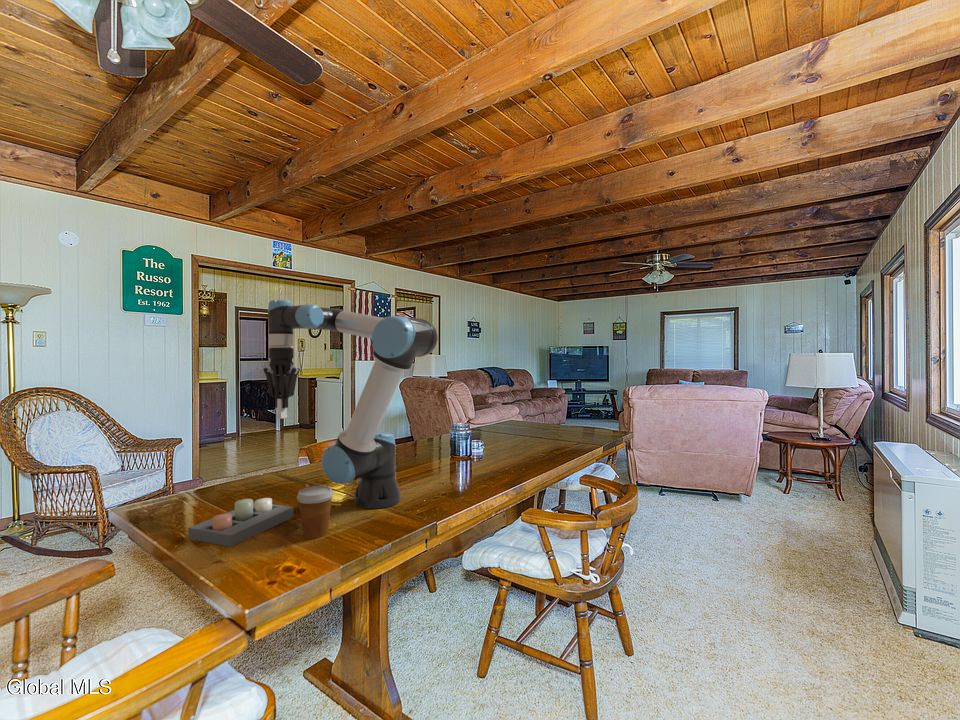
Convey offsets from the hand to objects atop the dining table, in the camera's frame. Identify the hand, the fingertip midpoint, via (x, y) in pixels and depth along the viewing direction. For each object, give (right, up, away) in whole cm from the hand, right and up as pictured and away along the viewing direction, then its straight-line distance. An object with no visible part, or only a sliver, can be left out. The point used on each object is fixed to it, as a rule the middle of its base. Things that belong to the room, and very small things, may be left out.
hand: (282, 417), depth 149 cm
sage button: (-1, -26, -22) cm, 34 cm away
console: (-1, -28, -22) cm, 36 cm away
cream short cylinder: (+1, -28, -15) cm, 32 cm away
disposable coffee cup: (+21, -29, -26) cm, 44 cm away
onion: (+11, -28, -7) cm, 31 cm away
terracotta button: (-4, -28, -28) cm, 40 cm away
